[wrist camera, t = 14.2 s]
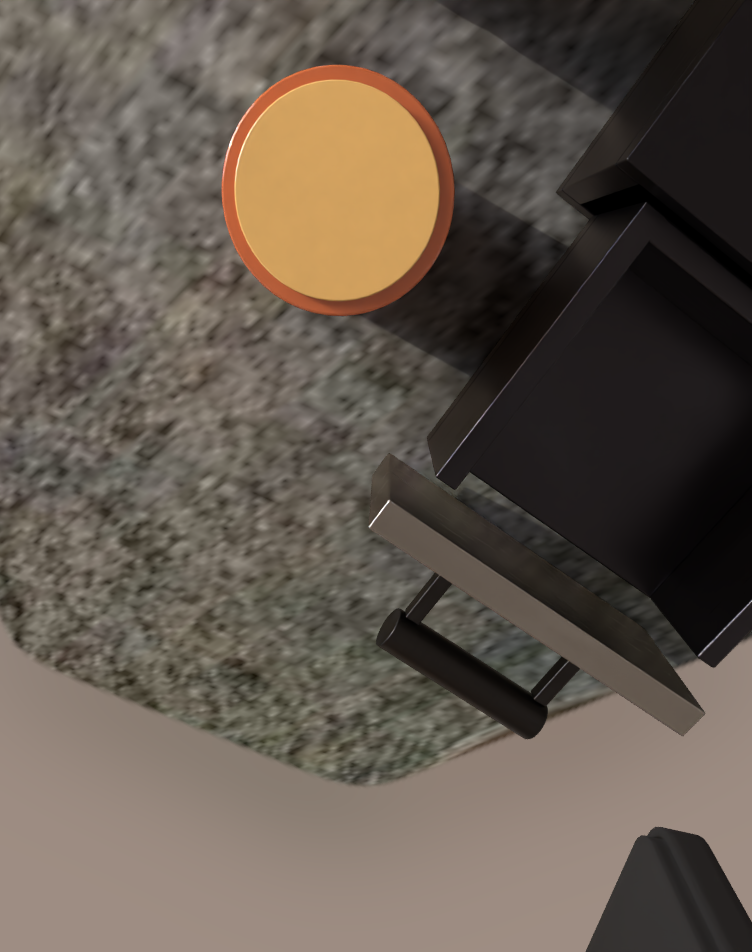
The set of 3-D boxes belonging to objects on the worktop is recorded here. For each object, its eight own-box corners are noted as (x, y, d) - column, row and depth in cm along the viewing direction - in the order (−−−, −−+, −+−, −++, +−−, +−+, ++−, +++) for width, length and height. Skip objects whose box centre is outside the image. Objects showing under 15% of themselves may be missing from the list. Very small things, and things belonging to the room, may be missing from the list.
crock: (465, 199, 25) (504, 163, 17) (372, 333, 27) (366, 362, 18) (332, 96, 24) (303, 3, 16) (244, 240, 26) (174, 226, 17)
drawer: (563, 716, 31) (602, 817, 25) (313, 555, 29) (294, 625, 23) (841, 417, 26) (964, 456, 21) (572, 202, 24) (628, 181, 19)
